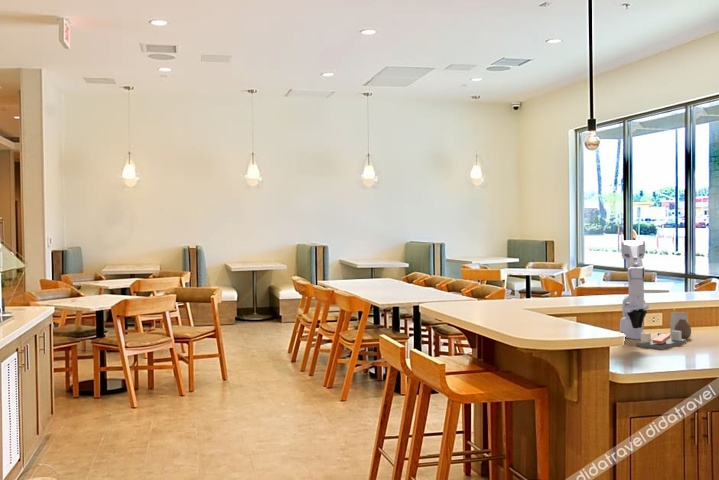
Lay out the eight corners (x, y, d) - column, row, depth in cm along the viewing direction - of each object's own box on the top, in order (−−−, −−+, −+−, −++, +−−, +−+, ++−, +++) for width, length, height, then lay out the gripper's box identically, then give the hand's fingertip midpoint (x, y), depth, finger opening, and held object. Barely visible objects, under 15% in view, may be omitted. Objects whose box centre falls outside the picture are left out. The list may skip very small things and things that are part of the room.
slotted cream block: (640, 341, 298) (640, 332, 298) (643, 341, 300) (643, 331, 300) (647, 342, 296) (647, 333, 296) (650, 341, 297) (650, 332, 297)
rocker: (652, 342, 294) (652, 339, 294) (661, 336, 298) (661, 333, 298) (661, 344, 291) (661, 340, 290) (670, 337, 295) (670, 334, 294)
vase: (688, 337, 315) (687, 317, 315) (693, 339, 308) (693, 320, 308) (671, 337, 316) (671, 317, 315) (677, 340, 309) (677, 320, 309)
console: (636, 346, 298) (636, 340, 298) (662, 339, 310) (662, 334, 310) (660, 349, 289) (660, 343, 289) (686, 343, 301) (686, 337, 301)
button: (656, 337, 308) (656, 333, 308) (660, 336, 310) (660, 332, 310) (663, 338, 305) (663, 334, 305) (668, 337, 307) (668, 333, 307)
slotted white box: (671, 339, 301) (671, 330, 301) (674, 339, 302) (674, 330, 302) (678, 340, 298) (678, 331, 298) (681, 339, 300) (681, 330, 300)
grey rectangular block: (685, 335, 320) (685, 313, 320) (670, 334, 324) (670, 312, 324) (688, 334, 323) (688, 312, 322) (673, 332, 327) (672, 311, 327)
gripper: (635, 297, 286) (636, 331, 286) (655, 294, 295) (655, 326, 295) (619, 296, 292) (620, 329, 292) (639, 293, 300) (640, 325, 301)
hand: (637, 327), depth 294 cm, fingers closed
